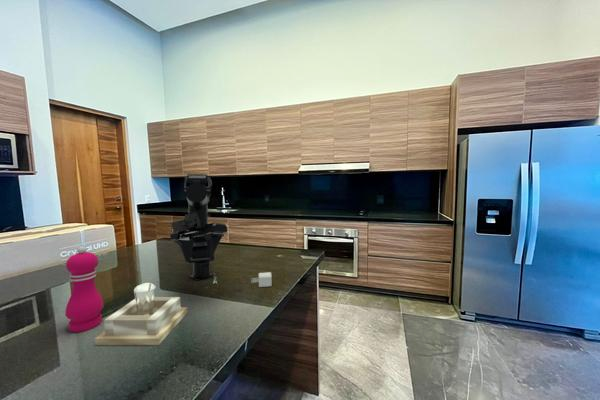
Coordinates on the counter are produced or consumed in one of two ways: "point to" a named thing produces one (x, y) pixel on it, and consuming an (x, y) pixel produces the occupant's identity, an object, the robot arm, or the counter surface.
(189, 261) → the robot arm
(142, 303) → the milkshake
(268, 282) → the usb wall charger
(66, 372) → the counter surface
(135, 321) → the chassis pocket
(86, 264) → the pepper mill
